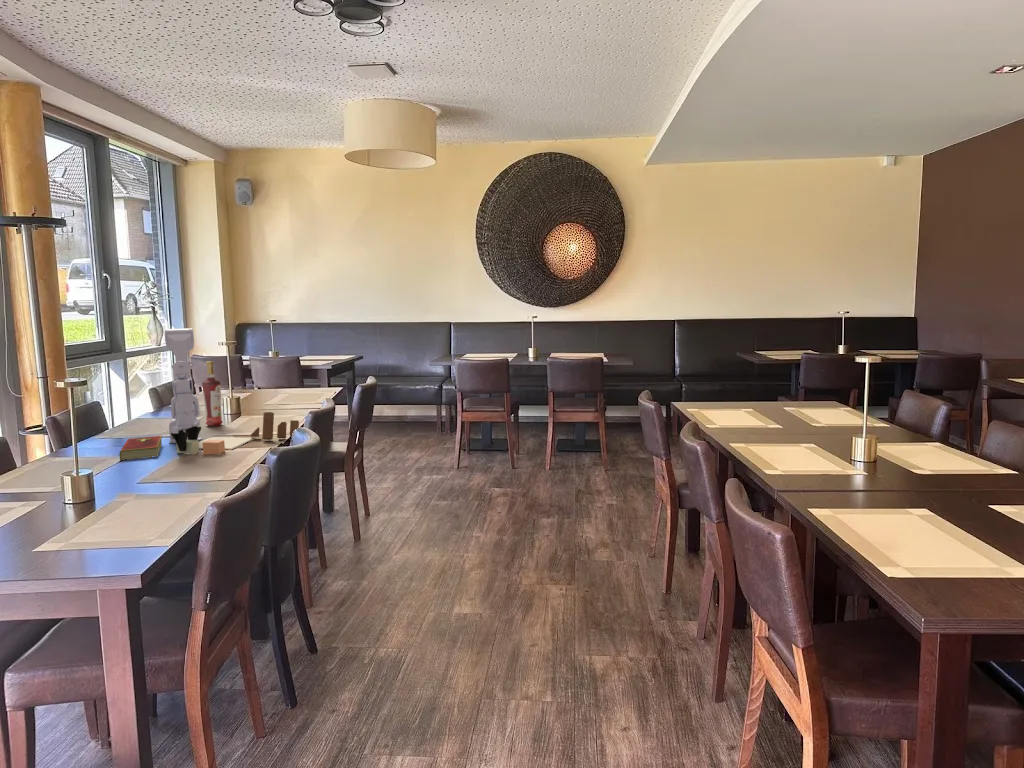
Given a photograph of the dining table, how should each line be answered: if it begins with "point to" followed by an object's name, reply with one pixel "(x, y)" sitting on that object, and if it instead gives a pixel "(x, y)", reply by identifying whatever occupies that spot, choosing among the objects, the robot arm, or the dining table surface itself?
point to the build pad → (229, 441)
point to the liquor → (212, 397)
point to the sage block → (190, 447)
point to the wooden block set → (268, 427)
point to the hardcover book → (141, 447)
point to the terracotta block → (213, 447)
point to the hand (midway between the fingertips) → (187, 448)
